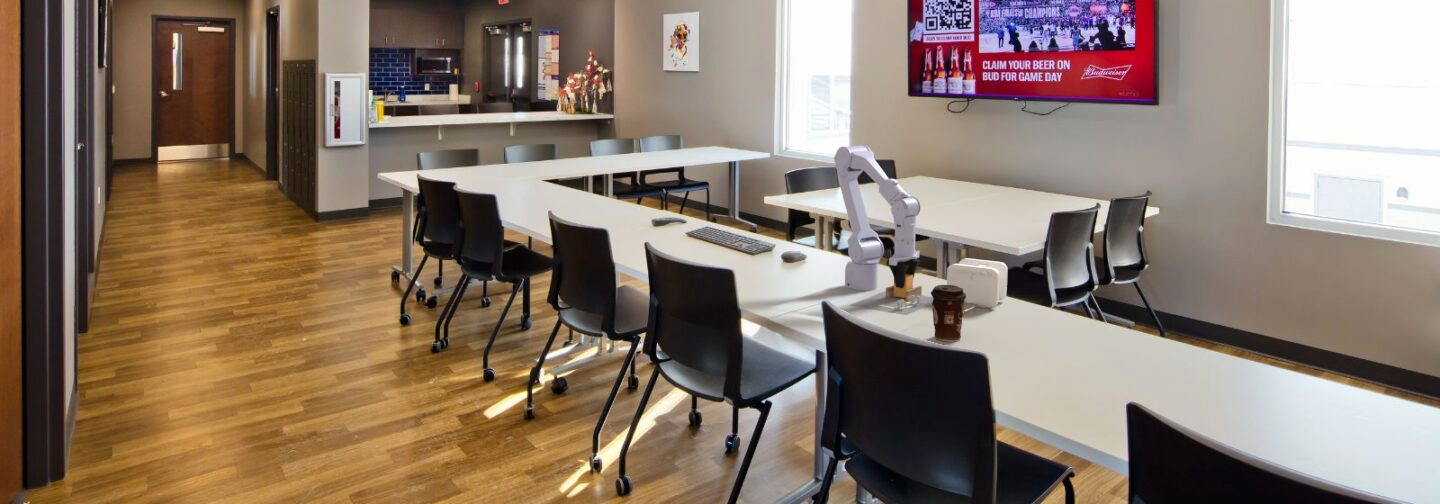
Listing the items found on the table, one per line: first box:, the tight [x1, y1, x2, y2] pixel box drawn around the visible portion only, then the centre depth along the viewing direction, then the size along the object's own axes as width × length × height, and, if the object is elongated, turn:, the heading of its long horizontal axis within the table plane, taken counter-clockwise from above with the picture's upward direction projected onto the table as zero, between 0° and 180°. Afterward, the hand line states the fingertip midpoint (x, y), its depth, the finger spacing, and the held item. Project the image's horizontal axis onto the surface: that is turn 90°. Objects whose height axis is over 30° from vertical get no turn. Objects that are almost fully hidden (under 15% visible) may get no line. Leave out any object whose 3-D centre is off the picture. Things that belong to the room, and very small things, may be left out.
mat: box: [849, 290, 933, 316], centre depth 263 cm, size 18×22×4 cm
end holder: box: [885, 284, 923, 302], centre depth 268 cm, size 7×8×3 cm
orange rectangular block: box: [893, 274, 914, 298], centre depth 268 cm, size 4×4×6 cm
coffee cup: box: [930, 284, 966, 343], centre depth 229 cm, size 9×8×13 cm
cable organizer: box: [946, 257, 1009, 309], centre depth 264 cm, size 15×11×12 cm
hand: (903, 285), depth 268 cm, fingers open, 4 cm apart
